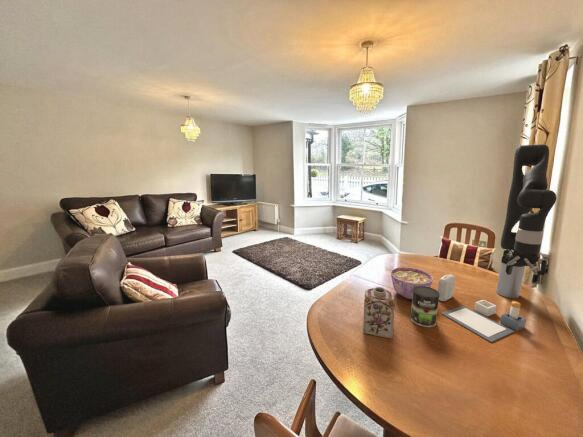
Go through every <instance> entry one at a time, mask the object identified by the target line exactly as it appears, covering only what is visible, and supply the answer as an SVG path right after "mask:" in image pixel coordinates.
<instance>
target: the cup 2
mask: <svg viewBox="0 0 583 437" xmlns="http://www.w3.org/2000/svg"><path fill="white" fill-rule="evenodd" d="M509 314H510V311H508V312H505V313H503V314H501V317H500V322H499V324H501V325H503V326H505V327H507V328H509V329H511V330H513V331H514V332H517V331H520V330H522V329H525V327H526V322H527V319H526V317H523V316H520V315H519V316H518V321H516V320H514V319H512V318H510V317H509Z"/></svg>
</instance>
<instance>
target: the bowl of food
mask: <svg viewBox="0 0 583 437" xmlns="http://www.w3.org/2000/svg"><path fill="white" fill-rule="evenodd" d="M390 277H391V283H392V286H393V289H394V290H395V291H394V292H396V293H397V294H398V295H400V296H402V297H404V298H406V299H408V300H412V297H413V288H414V287H416V286H426V287H430V288H431V286H432V284H433V281H434V277H433V276H432V274H430V273H429V272H427V271H424V270H423V269H419V268H414V267H410V266H409V267H407V266H406V267H405V266H404V267H403V266H401V267H395V268H393V269H391V271H390Z"/></svg>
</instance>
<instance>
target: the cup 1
mask: <svg viewBox="0 0 583 437" xmlns="http://www.w3.org/2000/svg"><path fill="white" fill-rule="evenodd" d="M473 311H475V312H477V313H479V314H481V315H483V316H485V317H487V318H489V316H492V315H495V314H496V313H497V305H496V304H494V303H492V302H489V301H488V300H485V299H481V300H477V301H475V302H474V309H473Z"/></svg>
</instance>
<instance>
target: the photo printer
mask: <svg viewBox="0 0 583 437" xmlns="http://www.w3.org/2000/svg"><path fill="white" fill-rule="evenodd" d="M455 284H456V277H455V276H454V275H453V274H450V273H449V274H445V275H443V276H442V277H441V278H440V279H439V281H438V285H437V286H438V288H437V291H438V292H439V294H440V296H439V302H446V301H448V300H450V299H451V298H453V296H454V293H455Z"/></svg>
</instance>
